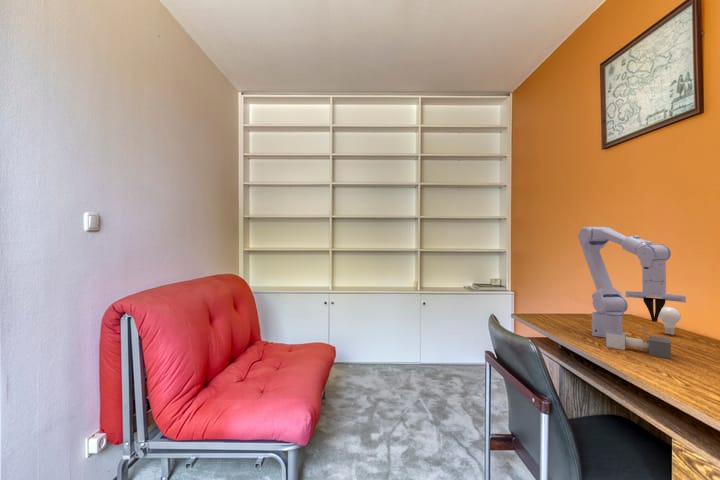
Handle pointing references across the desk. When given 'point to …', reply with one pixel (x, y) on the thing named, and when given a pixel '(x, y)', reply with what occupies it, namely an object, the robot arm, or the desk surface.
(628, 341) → the slip tube
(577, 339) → the desk surface
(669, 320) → the lightbulb
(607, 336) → the light grey cube
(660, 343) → the socket
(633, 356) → the desk surface
